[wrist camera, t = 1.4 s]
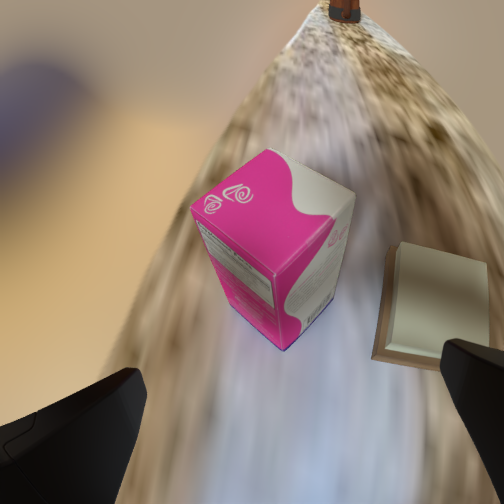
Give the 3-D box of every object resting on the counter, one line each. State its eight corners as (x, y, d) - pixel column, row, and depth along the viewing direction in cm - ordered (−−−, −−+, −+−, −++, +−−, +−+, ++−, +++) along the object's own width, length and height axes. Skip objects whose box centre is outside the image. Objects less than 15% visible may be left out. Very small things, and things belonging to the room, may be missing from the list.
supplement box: (277, 255, 26) (271, 141, 16) (334, 299, 23) (365, 195, 14) (225, 303, 24) (185, 203, 14) (282, 355, 21) (281, 280, 12)
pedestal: (472, 375, 18) (493, 366, 16) (370, 359, 20) (383, 348, 18) (474, 276, 22) (490, 259, 20) (386, 255, 25) (395, 234, 22)
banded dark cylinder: (329, 24, 60) (329, -16, 50) (327, 15, 66) (327, -21, 56) (363, 28, 59) (365, -12, 49) (358, 18, 65) (359, -17, 55)
